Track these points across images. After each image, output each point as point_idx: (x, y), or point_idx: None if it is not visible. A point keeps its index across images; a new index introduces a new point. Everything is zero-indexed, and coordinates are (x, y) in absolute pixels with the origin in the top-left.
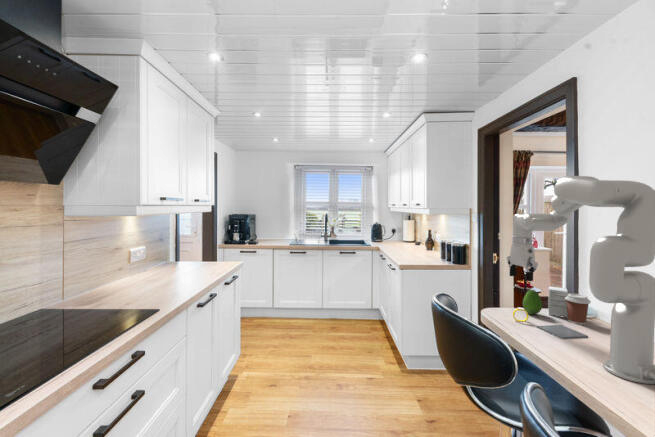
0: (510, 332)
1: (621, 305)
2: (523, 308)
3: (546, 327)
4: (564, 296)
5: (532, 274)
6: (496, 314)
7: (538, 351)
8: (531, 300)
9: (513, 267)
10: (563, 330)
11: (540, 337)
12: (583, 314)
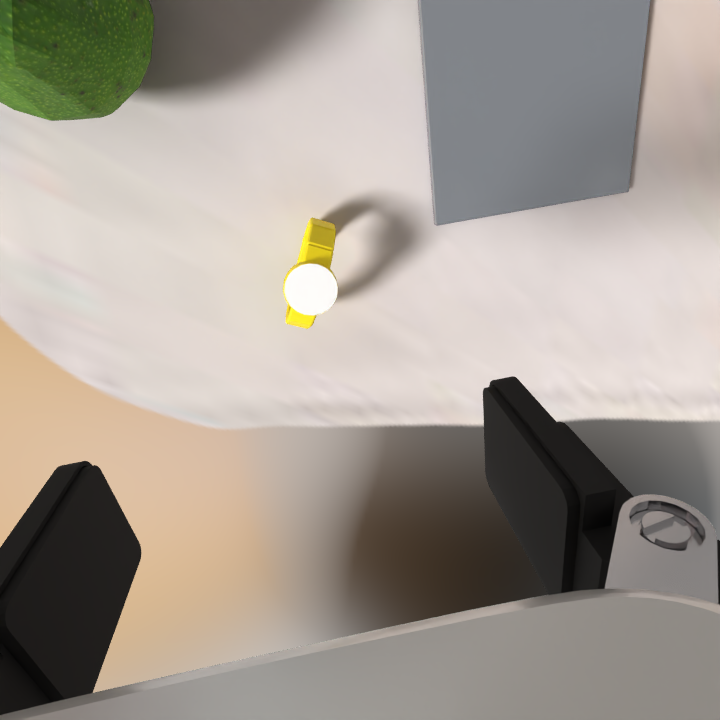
0: None
1: None
2: (309, 267)
3: (468, 170)
4: None
5: (617, 488)
6: (180, 358)
7: (701, 404)
8: (105, 67)
9: (26, 694)
10: (535, 73)
11: (579, 303)
12: None
